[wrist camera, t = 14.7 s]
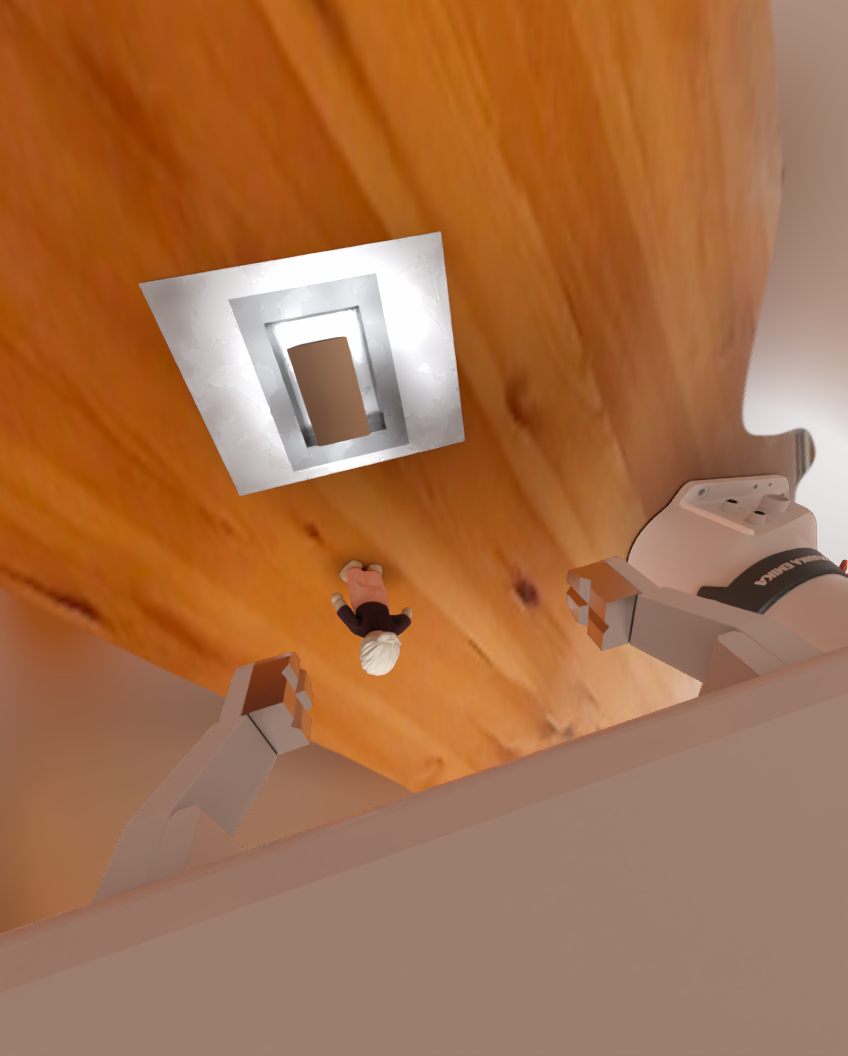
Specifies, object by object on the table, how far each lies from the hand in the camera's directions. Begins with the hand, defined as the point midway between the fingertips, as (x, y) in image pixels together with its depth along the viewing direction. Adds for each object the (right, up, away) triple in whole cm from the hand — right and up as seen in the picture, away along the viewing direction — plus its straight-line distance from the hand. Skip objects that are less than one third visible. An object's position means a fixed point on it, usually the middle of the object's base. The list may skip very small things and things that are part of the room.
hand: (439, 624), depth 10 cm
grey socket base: (-8, +15, +18) cm, 25 cm away
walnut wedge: (-8, +14, +17) cm, 24 cm away
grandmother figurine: (-7, -2, +28) cm, 29 cm away
